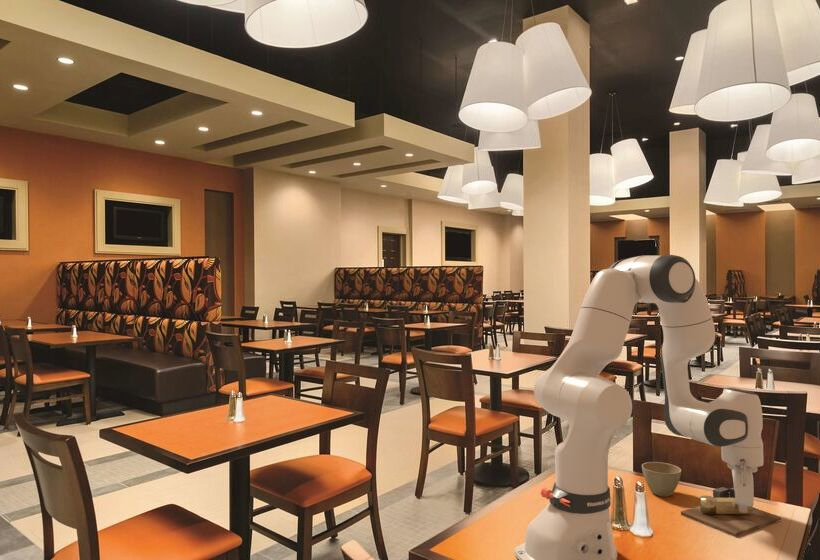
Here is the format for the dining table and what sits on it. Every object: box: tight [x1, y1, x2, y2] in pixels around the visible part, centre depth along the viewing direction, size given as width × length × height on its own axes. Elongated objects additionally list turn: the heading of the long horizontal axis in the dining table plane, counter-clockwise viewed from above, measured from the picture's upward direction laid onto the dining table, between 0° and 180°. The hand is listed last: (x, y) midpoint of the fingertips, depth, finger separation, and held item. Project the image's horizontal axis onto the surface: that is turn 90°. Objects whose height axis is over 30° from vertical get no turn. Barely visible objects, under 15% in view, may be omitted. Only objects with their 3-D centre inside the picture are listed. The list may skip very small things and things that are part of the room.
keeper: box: [712, 486, 735, 498], centre depth 143 cm, size 6×5×3 cm
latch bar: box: [699, 495, 754, 515], centre depth 137 cm, size 12×4×3 cm, turn 87°
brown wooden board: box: [680, 505, 782, 537], centre depth 136 cm, size 18×14×1 cm
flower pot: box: [641, 461, 682, 497], centre depth 153 cm, size 10×10×7 cm
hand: (743, 511), depth 135 cm, fingers closed
